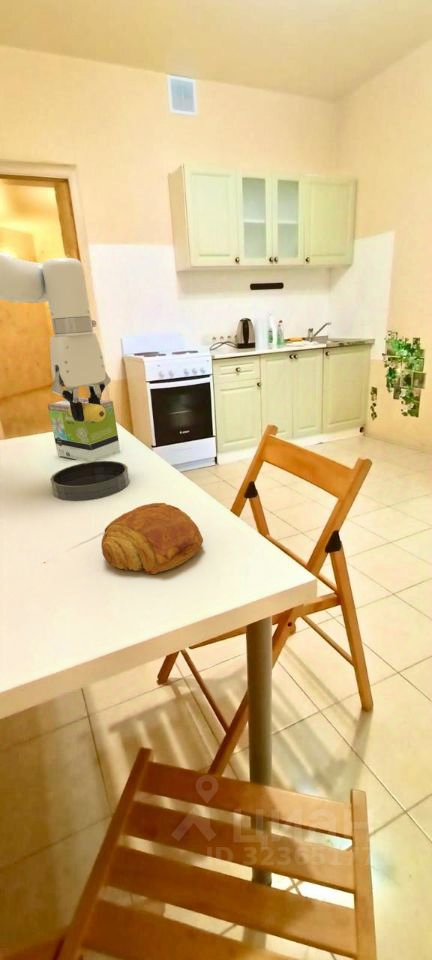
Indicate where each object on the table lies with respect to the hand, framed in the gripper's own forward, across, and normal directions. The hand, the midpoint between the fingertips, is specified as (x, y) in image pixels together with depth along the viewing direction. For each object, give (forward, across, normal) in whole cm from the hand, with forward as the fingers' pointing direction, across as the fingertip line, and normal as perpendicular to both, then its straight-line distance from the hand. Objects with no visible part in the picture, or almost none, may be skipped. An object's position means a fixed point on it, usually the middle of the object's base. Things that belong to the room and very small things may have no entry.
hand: (87, 417), depth 95 cm
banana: (0, 0, 0) cm, 0 cm away
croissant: (+15, +14, +34) cm, 40 cm away
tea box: (+15, -12, -21) cm, 29 cm away
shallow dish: (+15, +2, +1) cm, 15 cm away
